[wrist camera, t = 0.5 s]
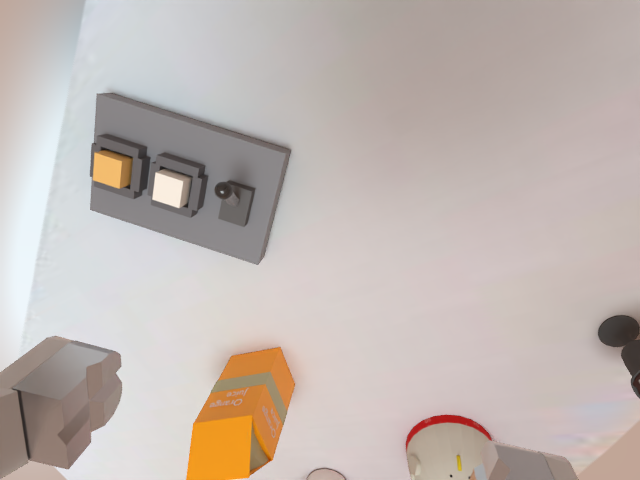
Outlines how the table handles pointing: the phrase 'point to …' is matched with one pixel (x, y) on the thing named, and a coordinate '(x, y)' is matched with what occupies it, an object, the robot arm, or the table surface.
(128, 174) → the amber button
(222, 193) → the toggle lever
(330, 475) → the milk bottle
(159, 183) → the cream button
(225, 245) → the control panel
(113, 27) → the table surface
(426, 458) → the kitchen timer
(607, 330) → the sundae
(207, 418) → the orange juice
